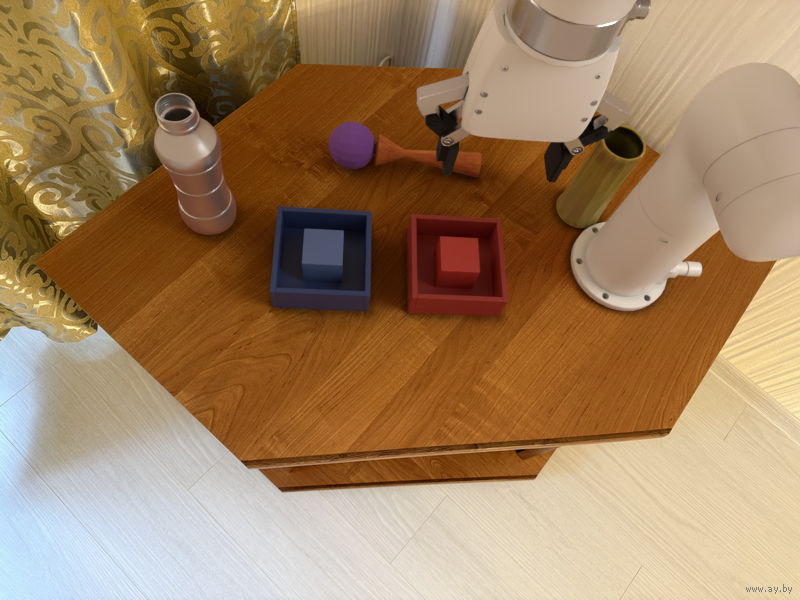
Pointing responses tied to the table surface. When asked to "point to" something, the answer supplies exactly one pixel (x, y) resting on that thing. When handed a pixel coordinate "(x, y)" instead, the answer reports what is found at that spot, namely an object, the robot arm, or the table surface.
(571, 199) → the vase
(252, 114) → the table surface
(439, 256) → the red block
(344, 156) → the kendama
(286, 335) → the table surface
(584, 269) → the robot arm
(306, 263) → the blue block
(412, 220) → the red bin
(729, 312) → the table surface
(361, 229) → the blue bin
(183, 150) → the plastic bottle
